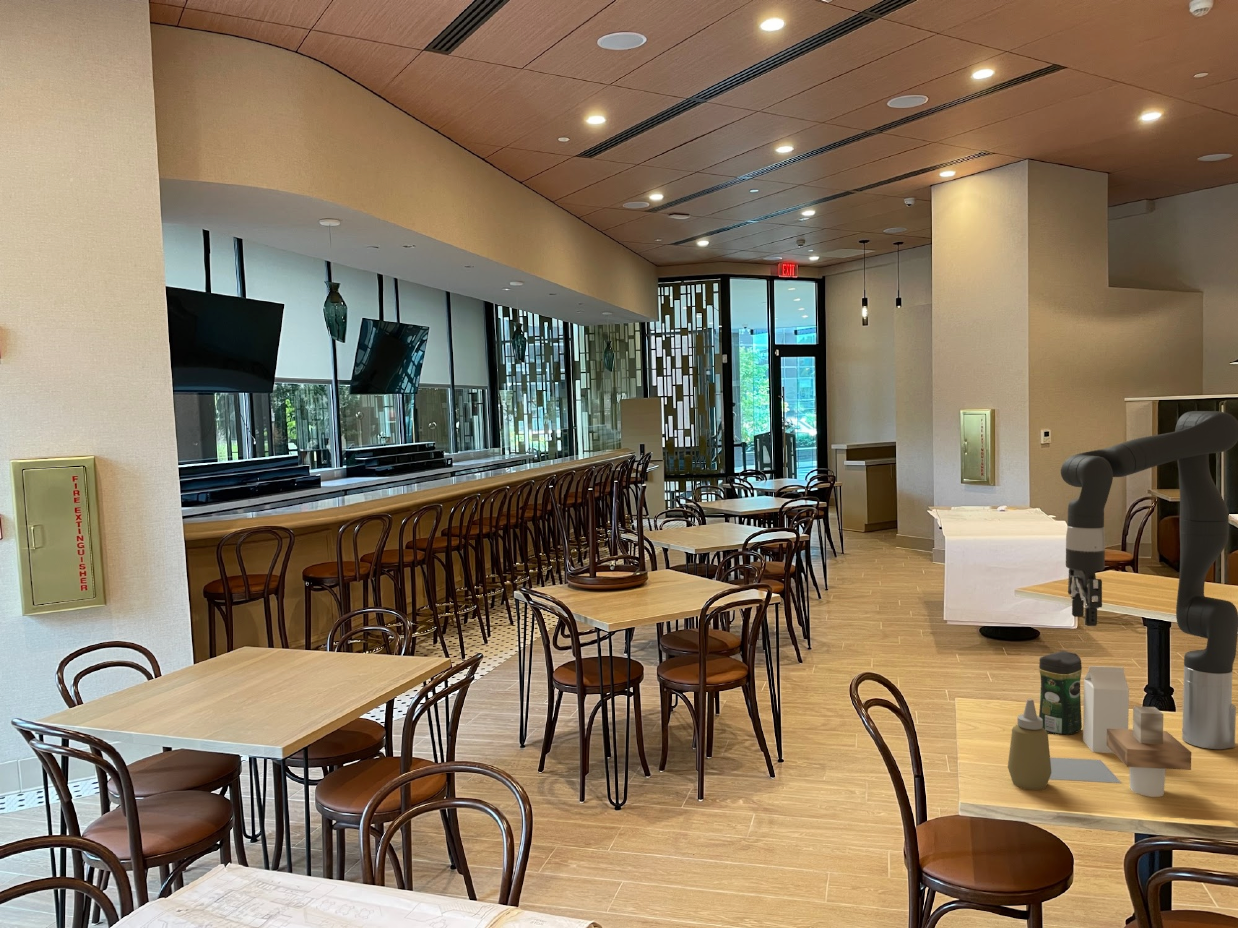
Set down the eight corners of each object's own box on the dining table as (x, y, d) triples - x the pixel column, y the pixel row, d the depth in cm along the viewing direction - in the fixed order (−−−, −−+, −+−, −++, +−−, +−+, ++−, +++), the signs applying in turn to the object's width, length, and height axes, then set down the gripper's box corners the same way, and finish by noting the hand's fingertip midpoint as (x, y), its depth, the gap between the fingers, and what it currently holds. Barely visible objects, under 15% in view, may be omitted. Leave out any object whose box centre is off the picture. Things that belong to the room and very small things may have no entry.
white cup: (1152, 786, 180) (1153, 738, 180) (1174, 801, 173) (1175, 750, 173) (1120, 787, 180) (1121, 739, 179) (1140, 801, 173) (1141, 751, 173)
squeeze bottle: (1001, 779, 185) (1001, 693, 184) (1040, 778, 185) (1041, 693, 184) (1017, 795, 177) (1018, 706, 176) (1058, 795, 177) (1059, 706, 175)
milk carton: (1127, 757, 195) (1129, 672, 194) (1092, 755, 197) (1094, 670, 195) (1116, 745, 202) (1118, 662, 201) (1082, 743, 204) (1084, 661, 202)
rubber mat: (1100, 763, 192) (1100, 759, 192) (1121, 786, 180) (1121, 782, 180) (1031, 759, 195) (1031, 756, 195) (1047, 782, 183) (1047, 778, 183)
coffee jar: (1054, 721, 218) (1055, 646, 217) (1086, 730, 212) (1088, 653, 211) (1032, 729, 213) (1033, 652, 212) (1064, 739, 206) (1065, 660, 205)
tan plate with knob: (1166, 747, 181) (1167, 701, 180) (1191, 769, 170) (1192, 721, 169) (1106, 745, 183) (1107, 699, 182) (1127, 766, 172) (1127, 718, 171)
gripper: (1116, 552, 186) (1114, 629, 187) (1092, 542, 200) (1091, 613, 201) (1077, 552, 187) (1076, 628, 188) (1056, 542, 201) (1055, 613, 202)
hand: (1084, 620), depth 195 cm, fingers open, 8 cm apart
